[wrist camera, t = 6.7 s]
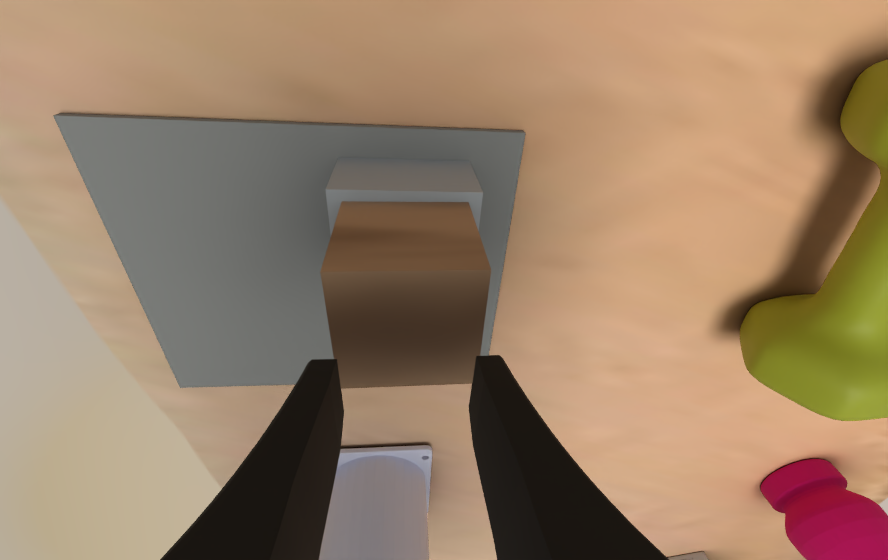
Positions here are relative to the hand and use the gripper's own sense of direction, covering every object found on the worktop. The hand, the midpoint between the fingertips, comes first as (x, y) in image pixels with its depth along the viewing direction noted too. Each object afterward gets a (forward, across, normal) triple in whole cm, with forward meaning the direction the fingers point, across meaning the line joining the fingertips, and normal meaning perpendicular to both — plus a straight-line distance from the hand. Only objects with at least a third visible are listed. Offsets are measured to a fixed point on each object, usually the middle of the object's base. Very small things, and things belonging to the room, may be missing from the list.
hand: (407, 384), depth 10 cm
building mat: (+10, +4, +4) cm, 12 cm away
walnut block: (+6, 0, 0) cm, 6 cm away
